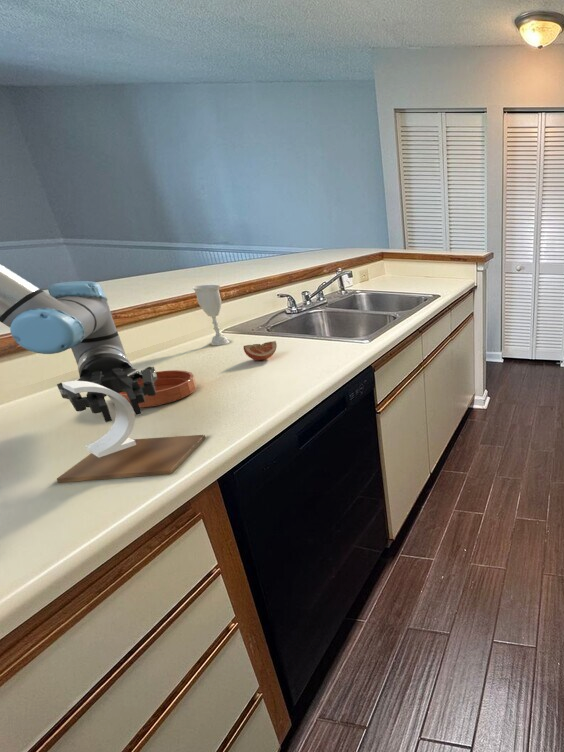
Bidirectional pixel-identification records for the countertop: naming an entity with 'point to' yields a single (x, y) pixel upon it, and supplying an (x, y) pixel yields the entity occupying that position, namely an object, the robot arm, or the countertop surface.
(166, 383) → the bowl
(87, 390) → the headphone stand
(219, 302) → the chalice
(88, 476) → the wooden board
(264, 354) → the fruit slice
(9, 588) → the countertop surface
